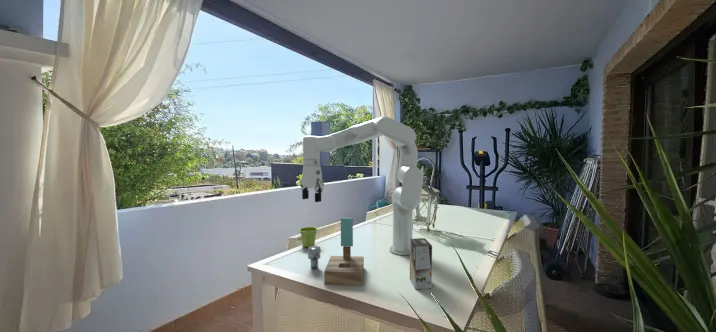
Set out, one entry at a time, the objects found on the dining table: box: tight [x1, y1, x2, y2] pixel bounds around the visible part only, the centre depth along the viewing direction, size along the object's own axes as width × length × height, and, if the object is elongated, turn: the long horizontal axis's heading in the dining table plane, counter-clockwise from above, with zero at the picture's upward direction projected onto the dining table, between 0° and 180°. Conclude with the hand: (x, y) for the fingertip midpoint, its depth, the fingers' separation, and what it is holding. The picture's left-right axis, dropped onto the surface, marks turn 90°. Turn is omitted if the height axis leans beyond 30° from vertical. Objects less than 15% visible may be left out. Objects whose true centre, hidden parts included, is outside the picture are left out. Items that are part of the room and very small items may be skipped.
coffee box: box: [409, 237, 433, 290], centre depth 115 cm, size 9×6×16 cm
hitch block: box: [323, 246, 365, 286], centre depth 122 cm, size 16×14×10 cm
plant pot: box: [298, 226, 319, 248], centre depth 159 cm, size 9×9×9 cm
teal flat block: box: [340, 217, 354, 247], centre depth 128 cm, size 12×5×1 cm
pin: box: [307, 245, 321, 270], centre depth 130 cm, size 5×5×9 cm
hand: (311, 200), depth 140 cm, fingers open, 9 cm apart
